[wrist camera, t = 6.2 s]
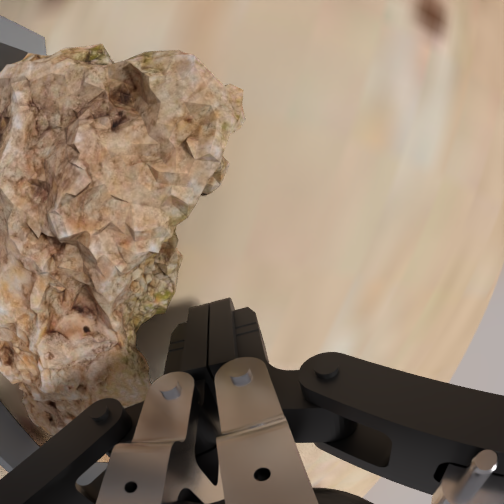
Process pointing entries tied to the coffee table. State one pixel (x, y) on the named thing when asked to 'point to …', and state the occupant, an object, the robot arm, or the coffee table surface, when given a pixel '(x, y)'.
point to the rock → (98, 214)
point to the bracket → (3, 424)
